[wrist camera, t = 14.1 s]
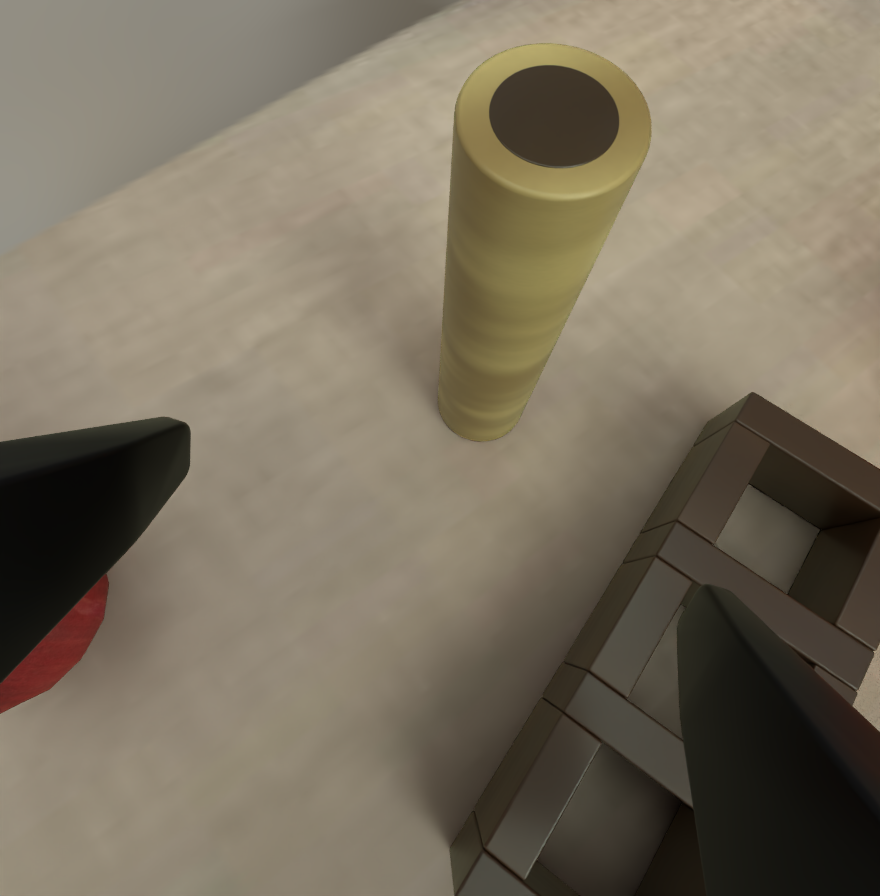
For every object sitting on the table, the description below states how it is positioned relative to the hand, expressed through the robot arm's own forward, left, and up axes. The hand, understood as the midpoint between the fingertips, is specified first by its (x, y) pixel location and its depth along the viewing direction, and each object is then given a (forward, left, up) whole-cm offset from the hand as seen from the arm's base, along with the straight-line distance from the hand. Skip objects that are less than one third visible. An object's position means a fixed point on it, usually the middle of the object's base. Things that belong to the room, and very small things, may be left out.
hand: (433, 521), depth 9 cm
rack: (-5, -8, -10) cm, 13 cm away
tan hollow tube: (+6, -3, -10) cm, 12 cm away
